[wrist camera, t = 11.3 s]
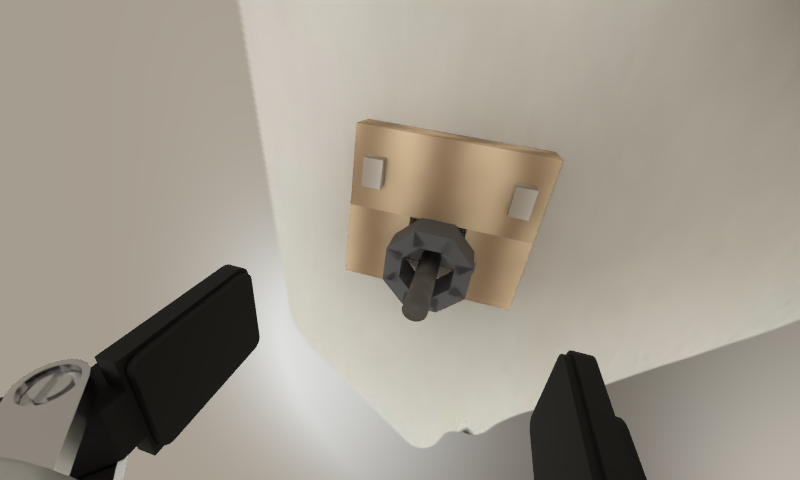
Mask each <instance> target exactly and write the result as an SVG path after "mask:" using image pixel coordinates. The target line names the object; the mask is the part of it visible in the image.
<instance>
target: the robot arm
mask: <svg viewBox="0 0 800 480" xmlns="http://www.w3.org/2000/svg"><path fill="white" fill-rule="evenodd" d="M258 342H259V330H258V322H257V316H256V308H255V301H254V294H253V287H252V280H251V276H250V275H249V274H248V273H247V270H246V269H244V268H240V267H236V266H232V265H225V266H223V267H221V268H220V269H218V270H217V271H216V272H214V273H213V274H211V275H210V276H208V277H207V278H206V279H204V280H203V281H202V282H200V283H199V284H197V285H196V286H194V287H193V288H191V289H190V290H189V291H187V292H186V293H184V294H183V295H182V296H180V297H179V298H177V299H176V300H175V301H173V302H172V303H171V304H169V305H168V306H166V307H165V308H163V309H162V310H160V311H159V312H158V313H156V314H155V315H153V316H152V317H150V318H149V319H148V320H146V321H145V322H143V323H142V324H140V325H139V326H138V327H136V328H135V329H133V330H132V331H131V332H129V333H128V334H126V335H125V336H124V337H122V338H121V339H119V340H118V341H117V342H115V343H114V344H112V345H111V346H109V347H108V348H106V349H105V350H104V351H102V352H101V353H99V354H98V355H97V356H95V359H96V361H97V364H95V365H94V366H93V367H91V368H90V366H89V364H88V363H87V362H85V361H83V360H78V359H68V360H61V361H57V362H54V363H50V364H47V365H45V366H43V367H40V368H38V369H36V370H34V371H33V372H31V373H29V374H27V375H26V376H24V377H22V378H21V379H20V380H19V381H17V382H16V383H15V384H14V385H12V387H11V388H10V389H9V390H8V392H7V393H6V394H5V396H4V397H2V398H0V480H123V478H124V473H125V469H126V465H127V460H128V455H129V453H131V452H132V450H133V449H134V448H135V447H136V446H137V447H138V449H140V450H142V451H145V452H147V453H150V454H153V455H156V454H157V453H158V452H159V451H160V450H161V449H162V447H163V446H164V445H167V444H170V443H171V442H172V441H173V440H174V439H175V438H176V437H177V436H178V435H179V434H180V433H181V432H182V431H183V429H184V428H185V427H186V426H187V425H188V424H189V423H190V422H191V420H192V419H193V418H194V417H195V416H196V415H197V414H198V412H199V411H200V410H201V409H202V408H203V407H204V406H205V404H206V403H207V402H208V401H209V400H210V399H211V398H212V397H213V395H214V394H215V393H216V392H217V391H218V389H220V387H221V386H222V385H223V384H224V383H225V382H226V381H227V380H228V378H229V377H230V376H231V375H232V374H233V373H234V372H235V370H236V369H237V368H238V367H239V366H240V365H241V364H242V362H243V361H244V360H245V359H246V358H247V357H248V356H249V355H250V353H251V352H252V351H253V350H254V349H255V348H256V346H257V344H258ZM530 436H531V449H532V460H533V472H534V480H647V479H646V476H645V474H644V471H643V468H642V465H641V463H640V460H639V457H638V454H637V452H636V449H635V446H634V443H633V441H632V438H631V435H630V432H629V429H628V428H627V425H626V423H625V422H624V421H623V420H622V419H621V418H619V417H616V416H615V414H614V411H613V408H612V406H611V402H610V399H609V396H608V393H607V391H606V388H605V384H604V381H603V379H602V376H601V373H600V370H599V367H598V364H597V361H596V359H595V357H593V356H591V355H587V354H583V353H579V352H575V351H569V352H568V353H567V354H566V355H564V354H560V355H559V357H558V359H557V361H556V363H555V365H554V368H553V370H552V372H551V374H550V377H549V379H548V381H547V383H546V385H545V388H544V390H543V392H542V394H541V396H540V399H539V401H538V403H537V405H536V407H535V410H534V412H533V414H532V417H531V421H530Z"/></svg>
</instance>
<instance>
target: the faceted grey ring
mask: <svg viewBox="0 0 800 480" xmlns="http://www.w3.org/2000/svg"><path fill="white" fill-rule="evenodd" d="M419 248H420V249H425V250H429V251H433V252H438V253H442V254H443V256H444V257H445V259H446V260H447V261H448V263H449V264H450V265H451V267H452V268H453V271H452V272H450V273H448V274H446V275H444V276H442V277H440V278H438V279H436V281H435V285H434V289H433V293H432V297H431V301H430V305H429V309H428V310H429V311H432V312H437V311H440V310H442V309H444V308H446V307H448V306H451V305H453V304H455V303H457V302H459V301H461V300H464V299H465V297H466V293H467V290H468V286H469V283H470V279H471V275H472V272H473V267H474V250H473V249H472V248H471V246H470V245H469V243H468V242H467V240H466V239H465V238H464V236H463V235H462V233H461V232H460V230H459V229H458V228H457V226H456V225H454V224H449V223H445V222H440V221H435V220H431V219H426V218H420V219H418V220H417V221H415V222H414V223H412V224H410V225H409V226H407V227H405V228H404V229H402V230H401V231H399V232H397V233H396V234H395V235H394V237H393V238H392V240H391V242H390V243H389V245H388V247H387V248H386V255H385V263H384V270H383V278H382V279H383V280H384V281H385V282H386V284H387V285H388V286H389V287H390V289H391V290H392V291H393V292H394V294H395V295H396V296H397V297H398V299H399V300H400V301H401V302H402V304H404V301H405V298H406V296H407V293H408V290H409V288H410V285H411V282H412V280H413V277H414V274H415V271H414V270H413V268H412V267H411V266H410V264H409V263H408V262H407V260H406V259H407V255H409V254H410V253H412V252H414V251H416V250H417V249H419Z"/></svg>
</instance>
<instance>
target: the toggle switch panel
mask: <svg viewBox="0 0 800 480" xmlns="http://www.w3.org/2000/svg"><path fill="white" fill-rule="evenodd" d="M562 163H563V159H562V158H561V157H560V156H559V155H558V154H557V153H556V152H550V151H545V150H539V149H533V148H528V147H522V146H517V145H511V144H505V143H500V142H494V141H489V140H483V139H477V138H472V137H466V136H461V135H455V134H449V133H444V132H438V131H433V130H427V129H421V128H416V127H410V126H405V125H399V124H393V123H388V122H382V121H377V120H371V119H367V120H364V121H361V122H357V128H356V141H355V155H354V168H353V182H352V196H351V209H350V223H349V236H348V250H347V263H346V270H350V271H354V272H358V273H362V274H366V275H370V276H374V277H378V278H383V270H384V263H385V255H386V248H387V247H388V245H389V243H390V242H391V240H392V238H393V237H394V235H395V234H396V233H397V232H399V231H401V230H402V229H404V228H405V227H407V226H409V225H410V224H412V223H414V218H418V219H420V218H426V219H431V220H435V221H440V222H445V223H449V224H454V225H456V226H457V227H459V228H463V229H466V230H465V234H464V238H465V239H466V240H467V242H468V243H469V245H470V246H471V248H472V249H473V250H474V267H473V272H472V275H471V279H470V283H469V286H468V290H467V293H466V297H465V299H466V300H470V301H474V302H478V303H482V304H486V305H490V306H494V307H498V308H502V309H506V310H509V309H510V306H511V304H512V301H513V298H514V295H515V293H516V290H517V287H518V284H519V281H520V279H521V276H522V273H523V270H524V268H525V265H526V262H527V259H528V257H529V254H530V251H531V248H532V246H533V243H534V240H535V237H536V234H537V232H538V229H539V226H540V223H541V221H542V218H543V215H544V212H545V210H546V207H547V204H548V201H549V199H550V196H551V193H552V190H553V187H554V185H555V182H556V179H557V176H558V174H559V171H560V168H561V165H562ZM408 258H409V259H413V260H418V261H419V263H418V266H417V269H416V271H415V274H414V277H413V280H412V282H411V285H410V288H409V290H408V293H407V296H406V298H405V301H404V304H403V306H402V312H403V314H404V316H405V317H406V318H407V319H409V320H411V321H422V320H424V319H425V318H426V316H427V313H428V309H429V305H430V301H431V297H432V293H433V289H434V285H435V281H436V277H437V273H438V269H439V266H443V267H447V268H451V269H453V268H452V267H451V265H450V264H449V263H448V261H447V260H446V259H445V257H444V256H443V254H442V253H438V252H433V251H429V250H425V249H420V248H419V249H417V250H416V251H414V252H412V253H410V254H409V255H407V259H408ZM407 259H406V260H407Z"/></svg>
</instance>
